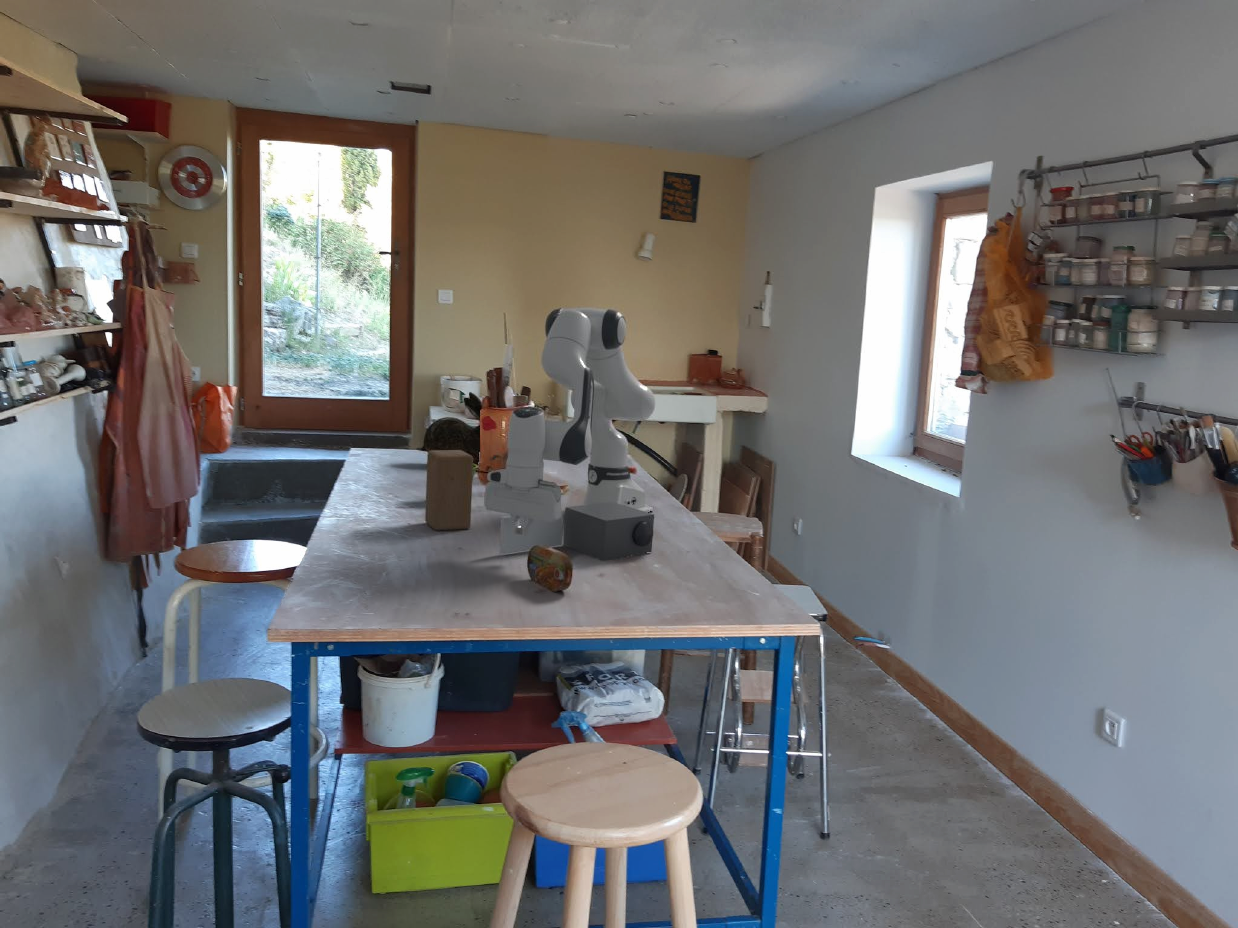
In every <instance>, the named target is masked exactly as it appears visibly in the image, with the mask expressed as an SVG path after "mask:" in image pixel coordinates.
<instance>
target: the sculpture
mask: <svg viewBox="0 0 1238 928" xmlns="http://www.w3.org/2000/svg"><path fill="white" fill-rule="evenodd" d="M463 402H464V406H465V407H466V408H467V410H468V411H469V412H470V414H471V415H473V416H474V418H476V419H477V420H479V421H480V410H481V409H482V405H483V402H482V400H481V399H480V398H479V397H478V396H477V395H476V394H474V393H473V392H471V391H469V392H468V397H464V398H463ZM483 406H484V405H483ZM422 444H423V446H422V447H417V448H416V450H418V452H426V453H428V452H429V451H431V450H461V451H464V452H465V453H467V454H469V455H471V456H472V457H473V464H476V465H477V466H478V465H479V464H478V462H479V452H480V424H478V425H477V426H471V425H469V424H468V423H466V422H465V421H464V420H461V419H460V418H457V417H452V416H444V417H441V418H439V419H436V420H435V421H433V422H432V423H431V424H430V425H429V426H428V428H427V429H426V432H425V434H424V437H423V443H422Z"/></svg>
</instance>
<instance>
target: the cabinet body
mask: <svg viewBox="0 0 1238 928" xmlns="http://www.w3.org/2000/svg"><path fill="white" fill-rule="evenodd" d="M654 520H655V514H654V513H652V512H649V513H648V512H644V511H641V510H638V509H635V508H631V507H628V506H625V505H622V504H618V503H615V502H608V503H599V504H590V505H583V504H582V505H574V506H566V507H565V508H564V523H563V530H564V531H563V539H562V546H563V547H566V548H570V549H571V550H575V551H577V552H580V553H582V554H585V555H588V556H590V557H592V558H595V559H597V558H598V559H597V560H600V561H609V560H615V558H617V559H622V558H621V557H623V558H628V557H627V556H629V557H632V556H631V555H635V556H638V555H637V554H641V555H644V554H643V553H647V552H651V553H652V549H653V539H654V538H653V537H654V525H655V521H654ZM647 554H648V553H647Z"/></svg>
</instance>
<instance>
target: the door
mask: <svg viewBox="0 0 1238 928" xmlns="http://www.w3.org/2000/svg"><path fill="white" fill-rule="evenodd" d="M564 517H565V509H562V516H561V518H560V519H559V521H556V522H552V523H551V522H546V521H541V520H536V519H533V522H532V524H531V525H530V527H529V530H528V535H526V536H524V535H519V534H515V533H514V525H513V523H512V521H511V515H508V516H506V515H505V516H501V518H500V520H501V521H500V531H499V554H501V555H507V554H512V553H513V554H514V553H520V552H526V551H530V550H531V548H532V547H534V546H536V545H538V546H548V547H550V548H553V547H557V546H558V547H559V546H563V533H564V531H563V530H564ZM523 520H524V517H521V518H519V521H520V524H521V526H524V524H525V522H524V521H523Z"/></svg>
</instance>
